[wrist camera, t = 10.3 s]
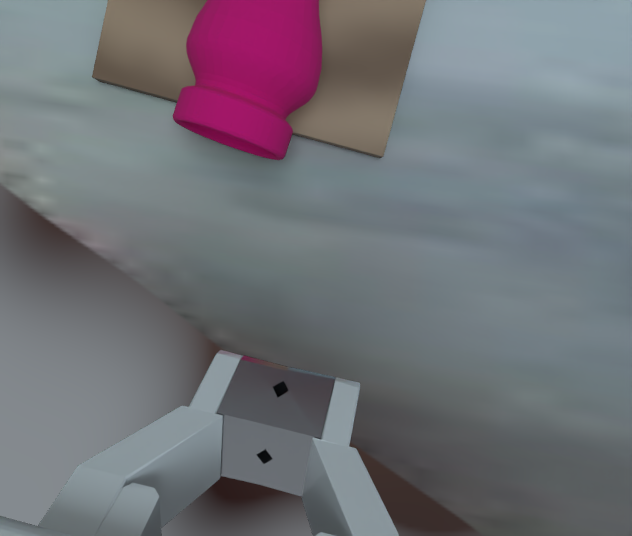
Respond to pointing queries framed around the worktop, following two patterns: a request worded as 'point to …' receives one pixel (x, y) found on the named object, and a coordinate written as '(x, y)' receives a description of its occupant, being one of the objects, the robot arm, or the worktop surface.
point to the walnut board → (336, 74)
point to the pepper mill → (251, 72)
